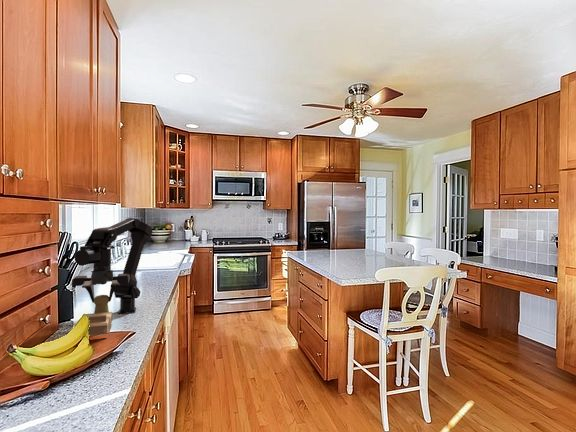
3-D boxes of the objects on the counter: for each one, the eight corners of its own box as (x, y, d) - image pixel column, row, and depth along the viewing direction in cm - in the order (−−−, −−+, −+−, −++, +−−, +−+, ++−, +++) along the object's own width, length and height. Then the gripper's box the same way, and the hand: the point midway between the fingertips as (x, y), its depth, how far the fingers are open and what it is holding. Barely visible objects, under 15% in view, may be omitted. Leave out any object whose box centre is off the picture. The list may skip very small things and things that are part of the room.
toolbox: (86, 329, 117) (87, 316, 117) (111, 326, 120) (111, 314, 120) (79, 341, 106) (79, 328, 106) (106, 338, 109) (107, 325, 109)
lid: (87, 316, 117) (87, 308, 117) (111, 314, 120) (111, 306, 120) (79, 328, 106) (79, 319, 106) (107, 325, 109) (107, 316, 109)
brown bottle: (106, 320, 127) (106, 292, 127) (112, 323, 123) (113, 295, 123) (89, 323, 122) (90, 295, 122) (95, 327, 118) (96, 298, 118)
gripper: (68, 266, 111) (67, 310, 111) (127, 263, 118) (126, 305, 119) (75, 261, 122) (75, 301, 122) (129, 259, 129) (129, 297, 129)
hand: (101, 301), depth 122 cm, fingers closed on brown bottle, 5 cm apart
